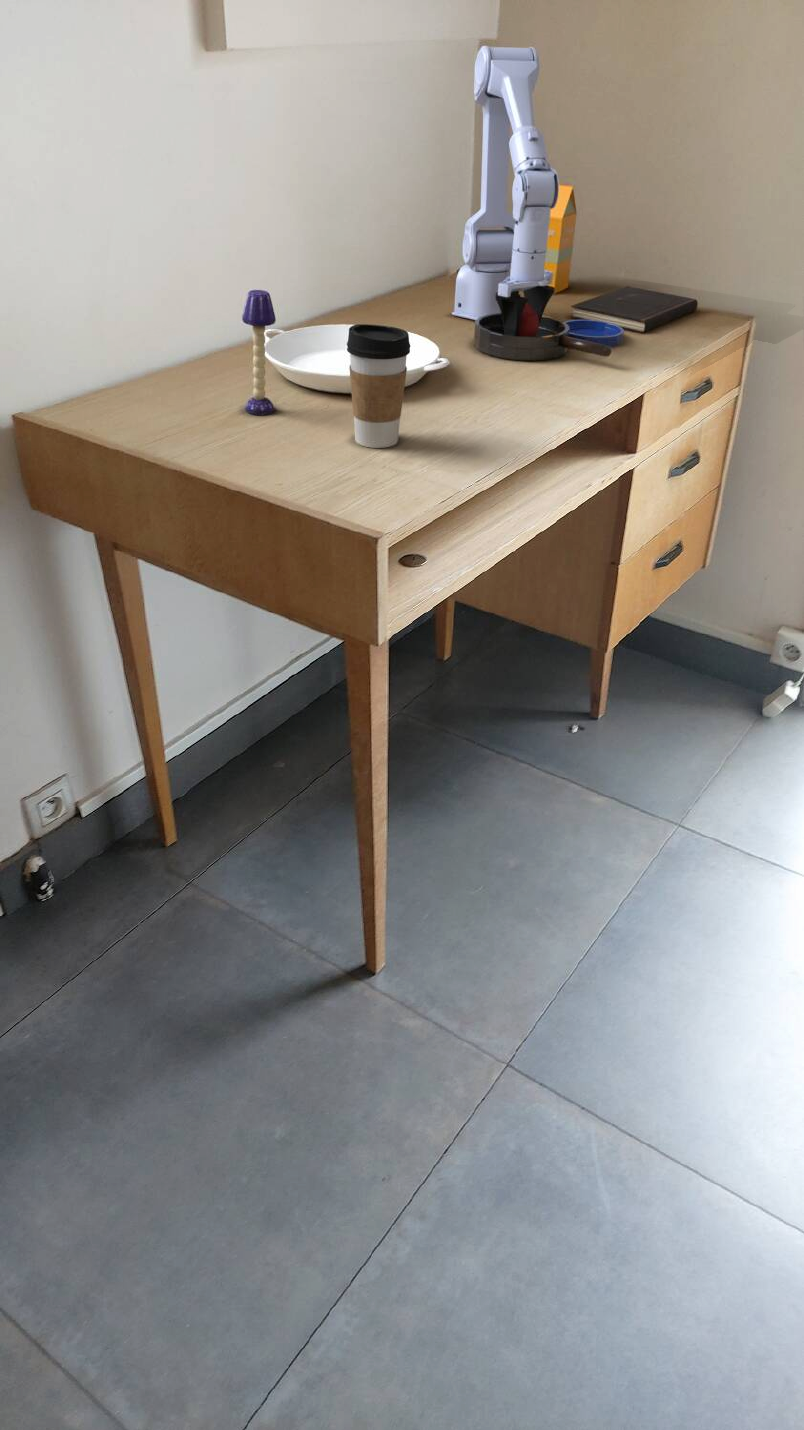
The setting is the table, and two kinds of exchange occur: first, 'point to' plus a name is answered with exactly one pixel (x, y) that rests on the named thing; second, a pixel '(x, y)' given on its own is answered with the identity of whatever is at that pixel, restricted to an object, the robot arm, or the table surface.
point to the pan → (336, 357)
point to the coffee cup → (377, 382)
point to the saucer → (596, 332)
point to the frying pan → (520, 339)
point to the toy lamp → (259, 347)
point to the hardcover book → (634, 308)
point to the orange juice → (561, 238)
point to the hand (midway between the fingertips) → (521, 332)
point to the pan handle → (585, 346)
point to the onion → (528, 322)
